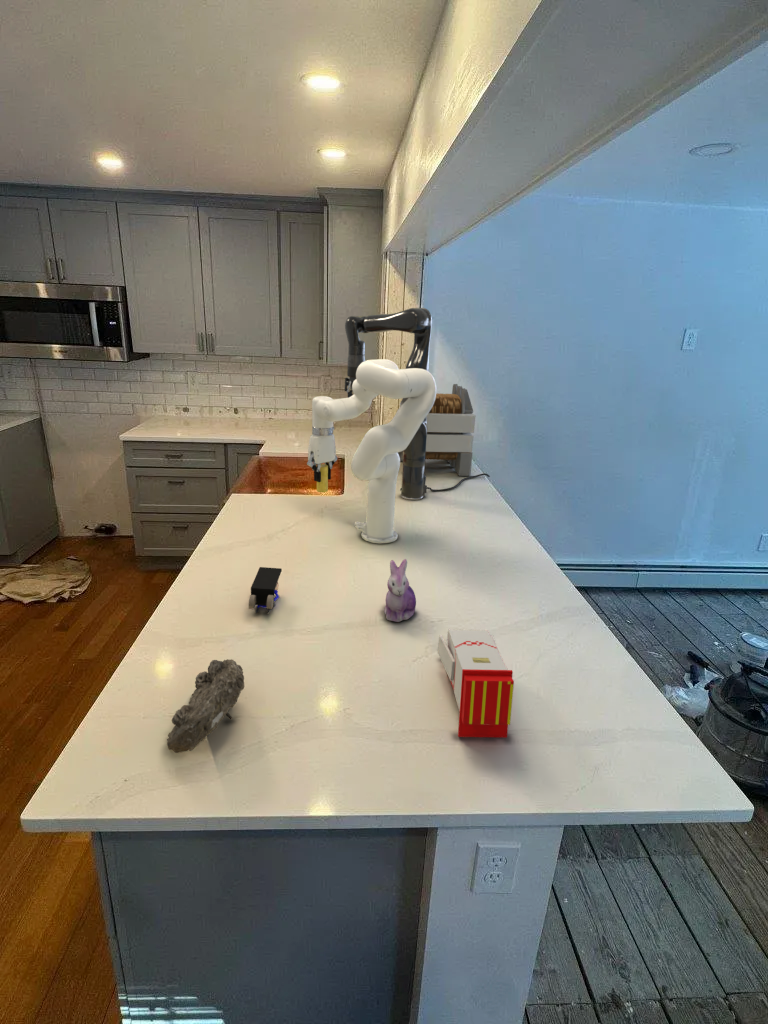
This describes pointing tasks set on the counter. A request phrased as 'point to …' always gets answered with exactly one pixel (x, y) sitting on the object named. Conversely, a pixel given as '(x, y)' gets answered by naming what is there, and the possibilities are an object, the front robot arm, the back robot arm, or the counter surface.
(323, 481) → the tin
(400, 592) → the figurine
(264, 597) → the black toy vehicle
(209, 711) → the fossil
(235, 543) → the counter surface
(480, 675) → the toy
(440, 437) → the transformer
